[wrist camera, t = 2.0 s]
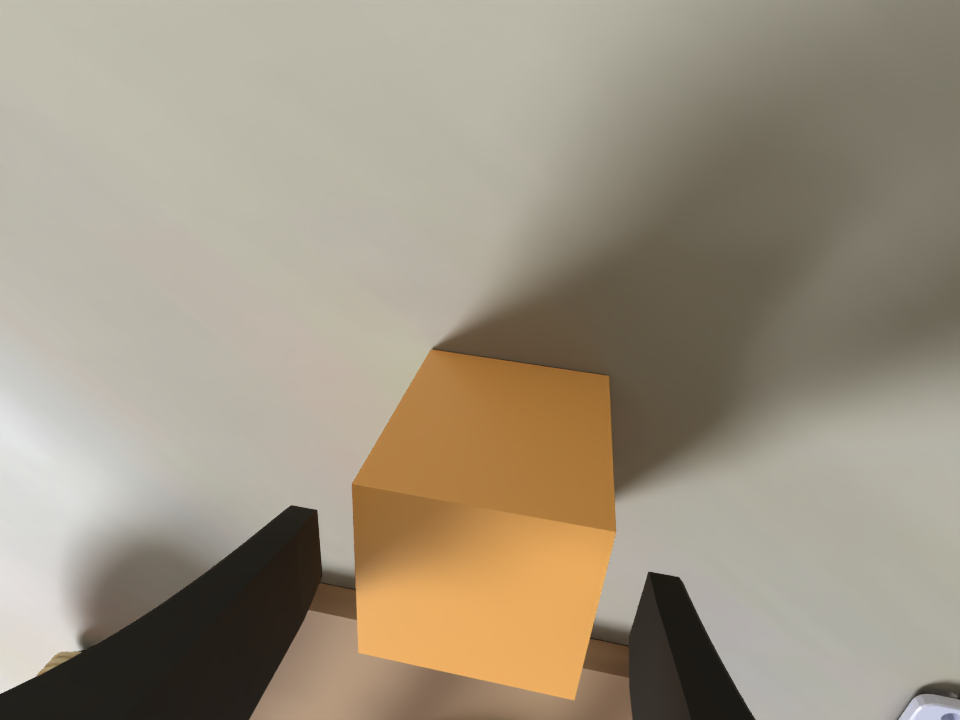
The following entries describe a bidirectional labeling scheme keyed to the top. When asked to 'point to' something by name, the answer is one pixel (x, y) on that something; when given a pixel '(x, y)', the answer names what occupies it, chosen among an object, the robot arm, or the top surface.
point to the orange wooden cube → (487, 522)
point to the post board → (419, 680)
